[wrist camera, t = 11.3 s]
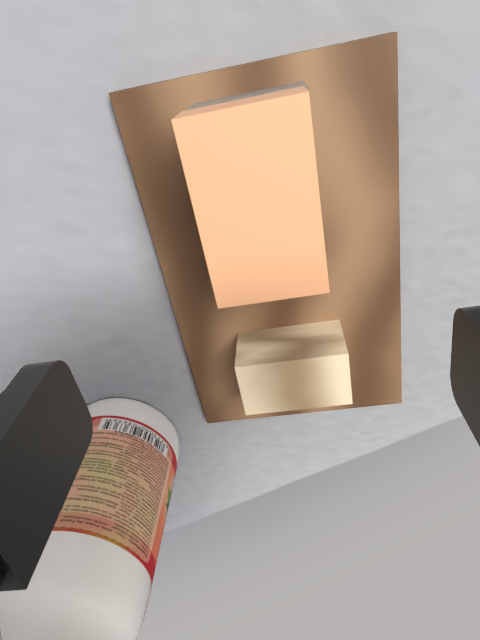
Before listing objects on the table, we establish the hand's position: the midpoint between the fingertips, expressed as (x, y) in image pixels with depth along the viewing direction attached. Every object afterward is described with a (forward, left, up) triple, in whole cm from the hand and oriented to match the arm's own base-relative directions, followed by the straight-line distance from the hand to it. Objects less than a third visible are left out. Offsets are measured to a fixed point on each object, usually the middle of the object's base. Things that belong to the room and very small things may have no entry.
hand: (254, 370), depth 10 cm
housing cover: (0, 0, -13) cm, 13 cm away
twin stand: (0, -7, -20) cm, 21 cm away
